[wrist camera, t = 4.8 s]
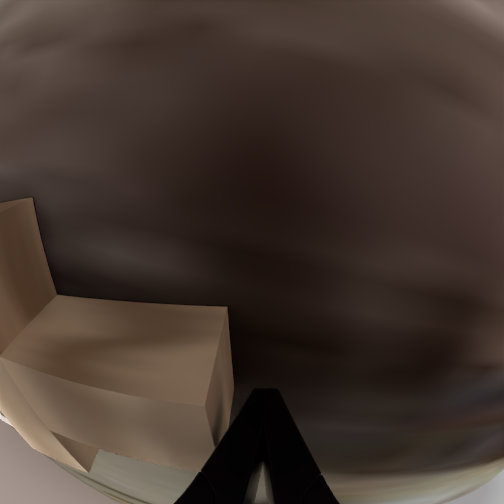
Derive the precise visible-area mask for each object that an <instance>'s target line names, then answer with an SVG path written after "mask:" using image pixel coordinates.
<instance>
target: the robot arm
mask: <svg viewBox="0 0 504 504" xmlns="http://www.w3.org/2000/svg"><path fill="white" fill-rule="evenodd" d="M262 463H263V465H264V475H265V485H266V495H267V504H339V502H338V501H337V499H336V498H335V496H334V495H333V493H332V491H331V490H330V488H329V486H328V485H327V483H326V481H325V479H324V477H323V476H322V475H321V472H320V470H319V468H318V466H317V464H316V463H315V461H314V459H313V457H312V455H311V453H310V451H309V449H308V447H307V445H306V443H305V441H304V439H303V438H302V436H301V434H300V432H299V430H298V428H297V426H296V424H295V422H294V420H293V418H292V416H291V414H290V412H289V410H288V408H287V406H286V404H285V402H284V400H283V398H282V396H281V394H280V392H279V390H278V389H276V388H266V389H265V388H254V389H253V390H252V391H251V393H250V394H249V396H248V398H247V399H246V401H245V402H244V404H243V406H242V407H241V409H240V411H239V412H238V414H237V415H236V417H235V419H234V420H233V422H232V423H231V425H230V426H229V428H228V430H227V431H226V433H225V434H224V436H223V437H222V439H221V440H220V442H219V443H218V445H217V446H216V448H215V449H214V451H213V452H212V454H211V455H210V457H209V458H208V460H207V461H206V463H205V464H204V466H203V467H202V469H201V472H199V473H198V474H197V476H196V477H195V479H194V480H193V481H192V483H191V484H190V485H189V486H188V488H187V489H186V490H185V492H184V493H183V494H182V495H181V496H180V497H179V498H178V499H177V501H176V502H175V503H174V504H254V501H255V497H256V492H257V487H258V483H259V478H260V473H261V468H262Z"/></svg>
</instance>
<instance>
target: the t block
mask: <svg viewBox="0 0 504 504" xmlns="http://www.w3.org/2000/svg"><path fill="white" fill-rule="evenodd" d="M233 392H234V380H233V370H232V358H231V347H230V335H229V322H228V310H227V307H218V306H193V305H173V304H156V303H141V302H127V301H114V300H103V299H92V298H82V297H72V296H63V295H57V293H56V290H55V286H54V283H53V280H52V277H51V274H50V270H49V267H48V263H47V260H46V256H45V252H44V249H43V245H42V241H41V236H40V232H39V228H38V223H37V218H36V213H35V208H34V203H33V197H32V198H25V199H19V200H13V201H8V202H2V203H0V411H1V412H2V413H3V415H4V416H5V417H6V418H7V420H8V421H9V422H10V423H11V424H12V426H13V427H14V428H15V429H16V430H17V431H18V433H19V434H20V435H21V436H22V437H23V438H24V439H25V440H26V441H27V443H28V444H30V446H31V447H32V448H34V449H35V450H37V451H39V452H41V453H43V454H45V455H47V456H49V457H52V458H54V459H56V460H58V461H60V462H63V463H65V464H67V465H70V466H72V467H74V468H77V469H79V470H82V471H84V472H87V473H89V471H90V469H91V466H92V464H93V461H94V459H95V457H96V454H97V452H98V450H99V449H101V450H105V451H108V452H111V453H115V454H118V455H122V456H126V457H129V458H133V459H137V460H142V461H146V462H150V463H155V464H160V465H165V466H170V467H176V468H182V469H188V470H195V471H201V469H202V467H203V466H204V464H205V463H206V461H207V460H208V458H209V457H210V455H211V454H212V452H213V451H214V449H215V448H216V446H217V445H218V443H219V442H220V440H221V439H222V437H223V436H224V434H225V433H226V431H227V430H228V427H229V420H230V413H231V406H232V399H233Z"/></svg>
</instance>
